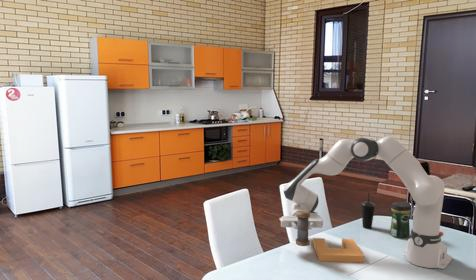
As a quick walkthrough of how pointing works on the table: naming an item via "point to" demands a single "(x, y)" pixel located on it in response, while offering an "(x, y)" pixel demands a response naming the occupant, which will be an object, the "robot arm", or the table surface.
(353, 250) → the orange notched slab
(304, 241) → the cord spool
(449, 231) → the table surface
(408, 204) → the coffee jar
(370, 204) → the drinking cup
